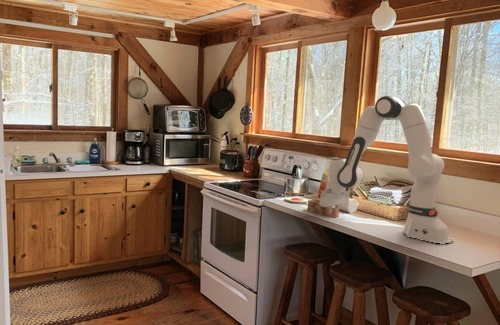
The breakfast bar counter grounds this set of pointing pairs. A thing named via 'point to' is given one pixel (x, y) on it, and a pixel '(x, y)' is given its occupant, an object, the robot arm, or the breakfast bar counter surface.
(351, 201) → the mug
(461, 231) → the breakfast bar counter surface
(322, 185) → the milk carton
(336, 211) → the orange rectangular bar
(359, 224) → the breakfast bar counter surface
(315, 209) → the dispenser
